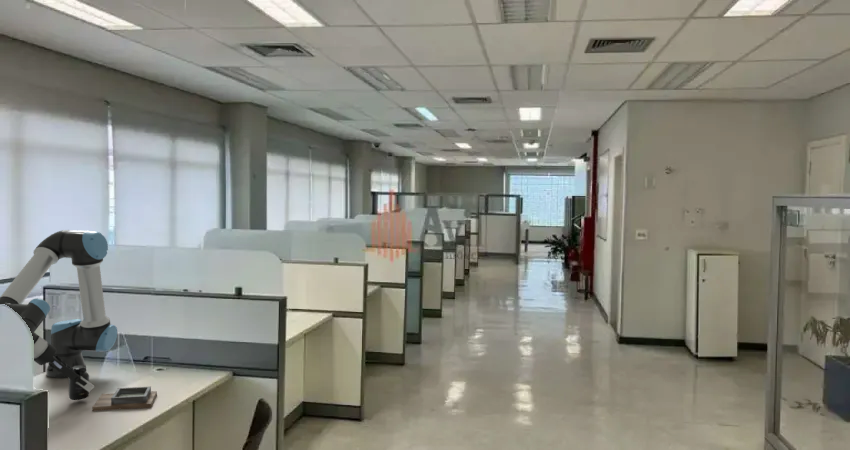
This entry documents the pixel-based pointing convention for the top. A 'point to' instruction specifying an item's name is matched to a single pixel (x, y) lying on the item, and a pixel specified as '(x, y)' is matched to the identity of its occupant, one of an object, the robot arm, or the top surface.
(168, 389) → the top surface
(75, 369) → the supplement bottle
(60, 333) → the robot arm
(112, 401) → the base board
